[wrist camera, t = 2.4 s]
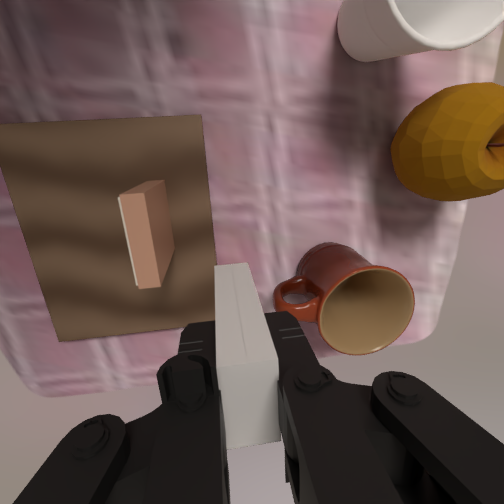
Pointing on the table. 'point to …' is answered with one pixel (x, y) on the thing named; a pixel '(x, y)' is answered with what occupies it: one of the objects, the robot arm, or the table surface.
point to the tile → (148, 231)
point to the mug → (348, 299)
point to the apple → (453, 144)
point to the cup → (414, 26)
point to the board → (111, 219)
